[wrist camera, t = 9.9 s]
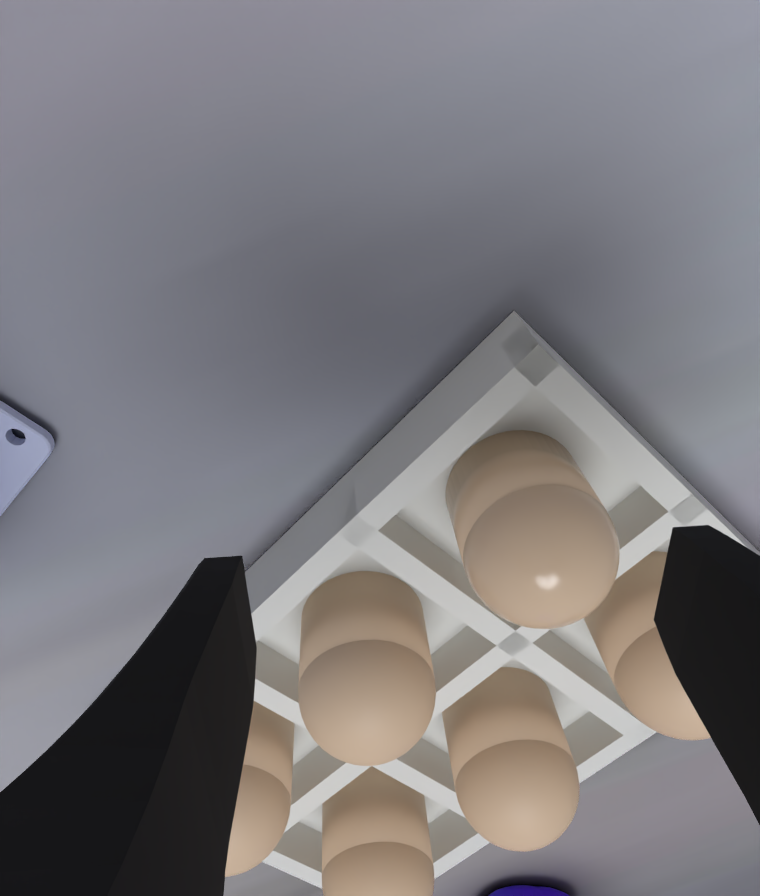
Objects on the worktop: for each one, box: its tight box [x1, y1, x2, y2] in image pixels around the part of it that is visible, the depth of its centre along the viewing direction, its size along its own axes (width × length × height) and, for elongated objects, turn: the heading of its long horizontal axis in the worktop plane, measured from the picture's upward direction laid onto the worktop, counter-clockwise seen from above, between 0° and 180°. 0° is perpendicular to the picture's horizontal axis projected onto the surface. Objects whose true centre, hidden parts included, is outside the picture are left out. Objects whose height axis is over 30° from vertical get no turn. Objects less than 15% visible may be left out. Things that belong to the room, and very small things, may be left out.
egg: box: [445, 430, 620, 629], centre depth 19 cm, size 4×4×5 cm
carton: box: [225, 311, 760, 896], centre depth 23 cm, size 14×21×6 cm
